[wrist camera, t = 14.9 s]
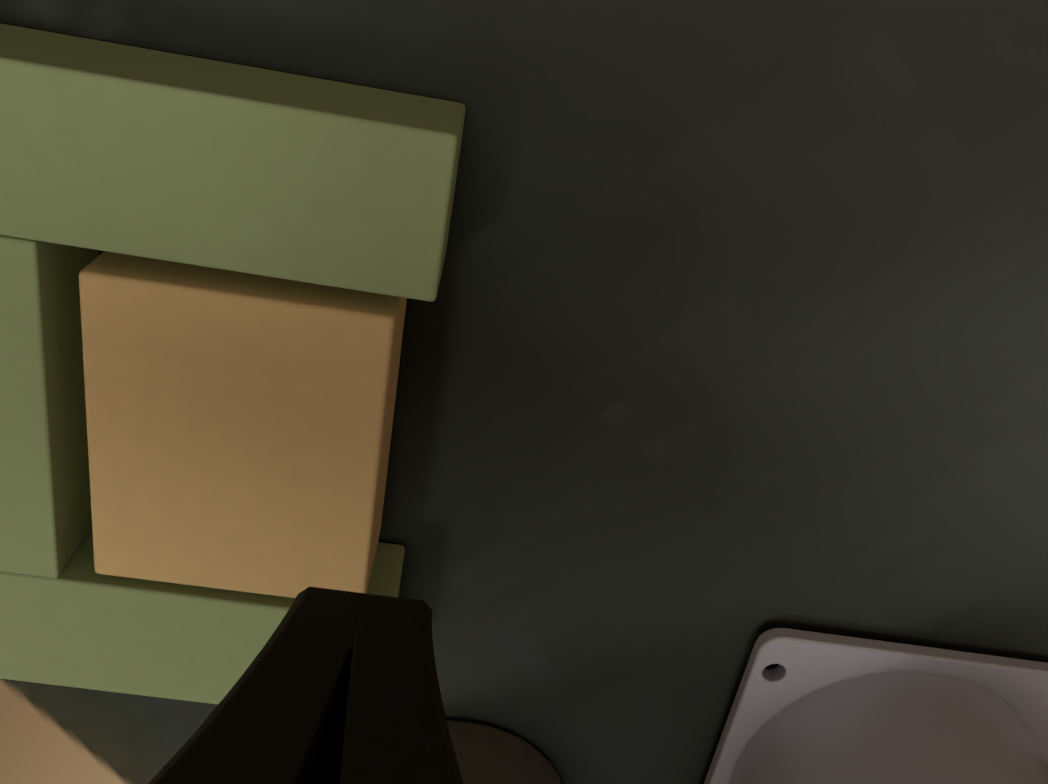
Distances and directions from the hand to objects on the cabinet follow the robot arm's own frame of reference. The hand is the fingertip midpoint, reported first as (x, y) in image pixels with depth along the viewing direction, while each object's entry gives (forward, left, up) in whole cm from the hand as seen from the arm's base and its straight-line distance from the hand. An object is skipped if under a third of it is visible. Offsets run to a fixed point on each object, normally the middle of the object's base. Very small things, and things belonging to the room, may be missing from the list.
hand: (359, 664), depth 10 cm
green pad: (-2, +5, -9) cm, 10 cm away
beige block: (-2, +3, -9) cm, 9 cm away
